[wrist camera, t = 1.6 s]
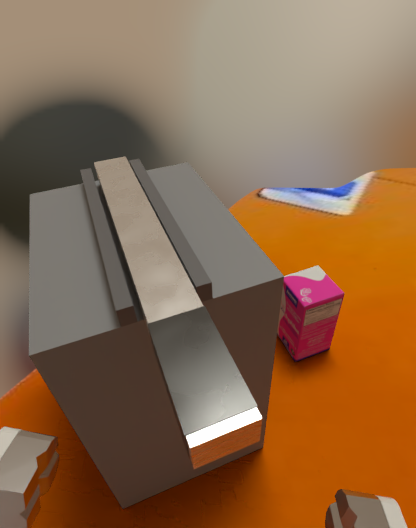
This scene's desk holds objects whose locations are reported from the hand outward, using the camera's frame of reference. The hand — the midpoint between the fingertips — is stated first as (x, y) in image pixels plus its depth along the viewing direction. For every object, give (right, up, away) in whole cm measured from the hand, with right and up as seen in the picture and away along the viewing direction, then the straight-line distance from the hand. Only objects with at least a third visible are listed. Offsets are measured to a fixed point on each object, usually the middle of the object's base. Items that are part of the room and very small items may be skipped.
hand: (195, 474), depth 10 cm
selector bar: (-4, +6, +15) cm, 17 cm away
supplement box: (+14, -5, +41) cm, 44 cm away
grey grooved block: (-4, -11, +35) cm, 37 cm away
